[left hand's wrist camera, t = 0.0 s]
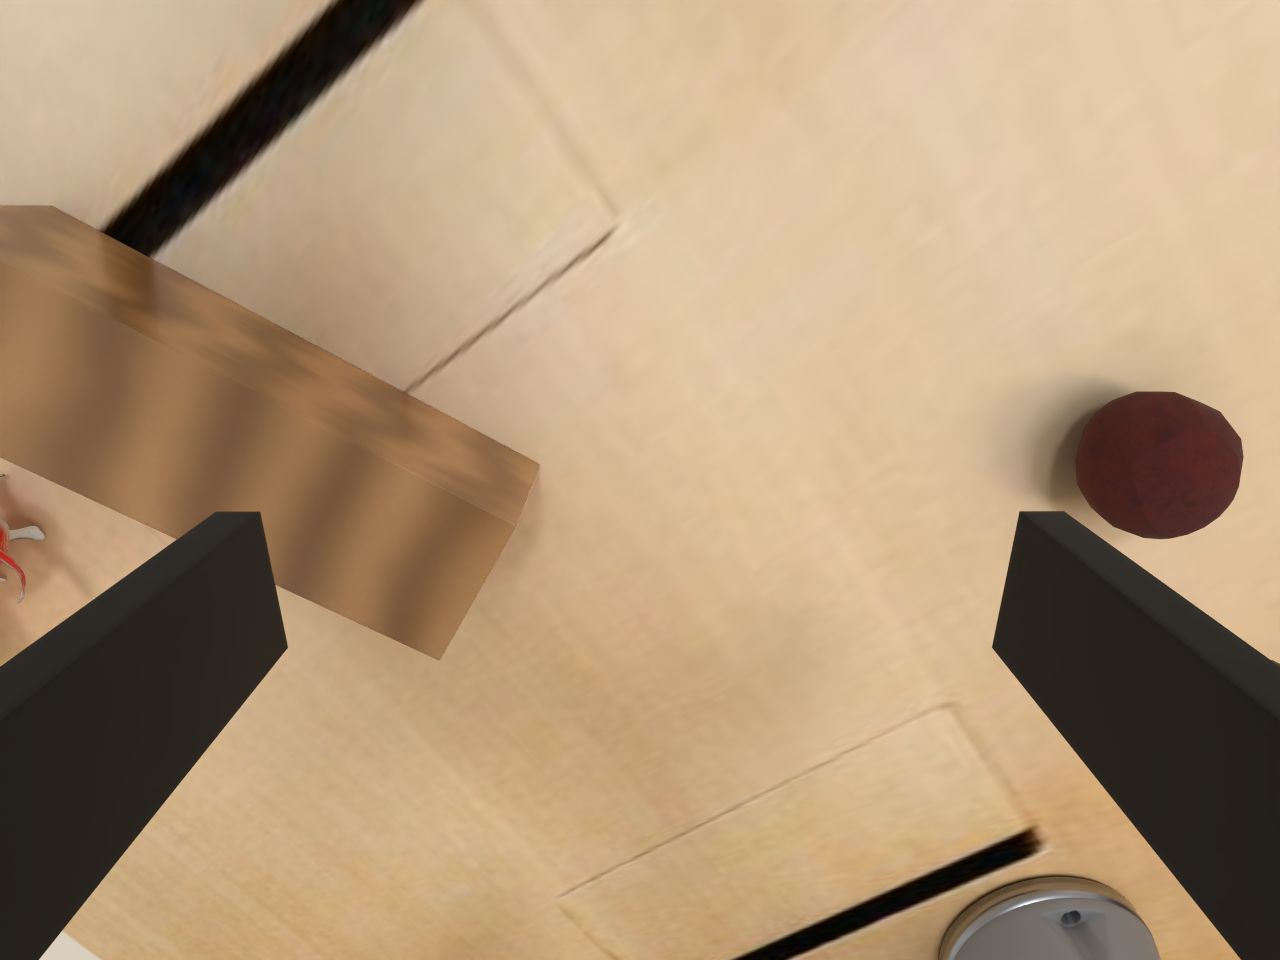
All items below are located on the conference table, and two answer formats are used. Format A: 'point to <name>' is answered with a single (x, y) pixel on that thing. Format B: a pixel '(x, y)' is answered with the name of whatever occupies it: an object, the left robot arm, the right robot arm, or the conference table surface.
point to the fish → (3, 536)
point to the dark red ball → (1159, 464)
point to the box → (243, 432)
